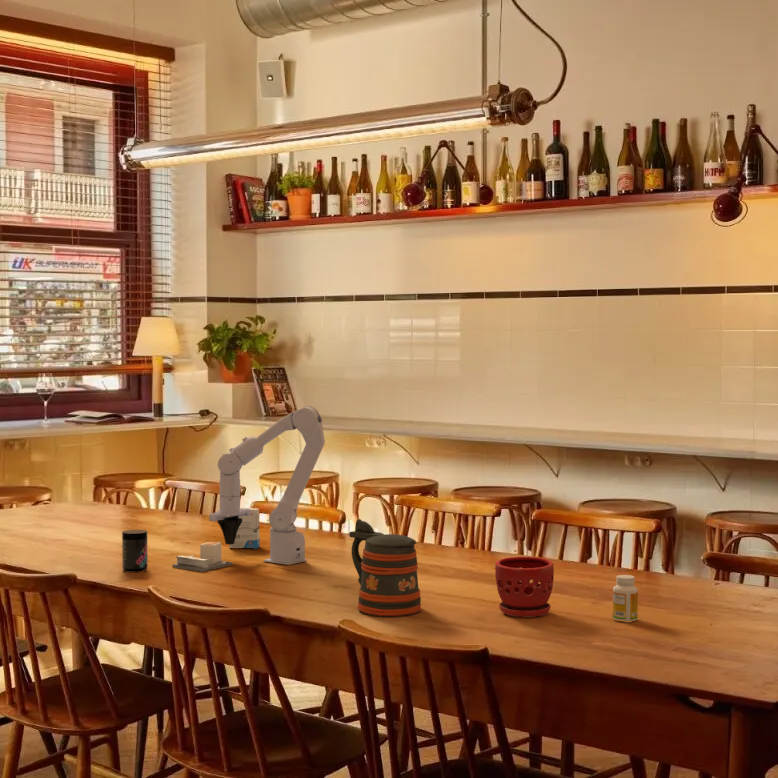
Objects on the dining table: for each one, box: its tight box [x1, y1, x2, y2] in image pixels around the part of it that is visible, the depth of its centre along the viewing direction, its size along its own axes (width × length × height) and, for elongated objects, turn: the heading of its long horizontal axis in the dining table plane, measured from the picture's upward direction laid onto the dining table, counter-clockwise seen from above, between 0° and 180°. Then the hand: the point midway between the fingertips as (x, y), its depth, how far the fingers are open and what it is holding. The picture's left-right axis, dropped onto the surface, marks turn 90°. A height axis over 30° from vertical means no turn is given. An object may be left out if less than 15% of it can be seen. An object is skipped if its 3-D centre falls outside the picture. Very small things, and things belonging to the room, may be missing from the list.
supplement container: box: [121, 529, 149, 572], centre depth 317 cm, size 7×7×10 cm
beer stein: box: [348, 518, 422, 618], centre depth 271 cm, size 19×15×20 cm
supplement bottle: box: [612, 574, 639, 621], centre depth 261 cm, size 5×5×10 cm
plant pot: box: [494, 556, 555, 618], centre depth 266 cm, size 13×13×12 cm
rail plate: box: [172, 555, 234, 573], centre depth 322 cm, size 11×12×3 cm
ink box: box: [228, 507, 261, 550], centre depth 352 cm, size 9×5×12 cm, turn 84°
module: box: [199, 541, 222, 564], centre depth 325 cm, size 4×5×5 cm
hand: (229, 543), depth 331 cm, fingers closed
